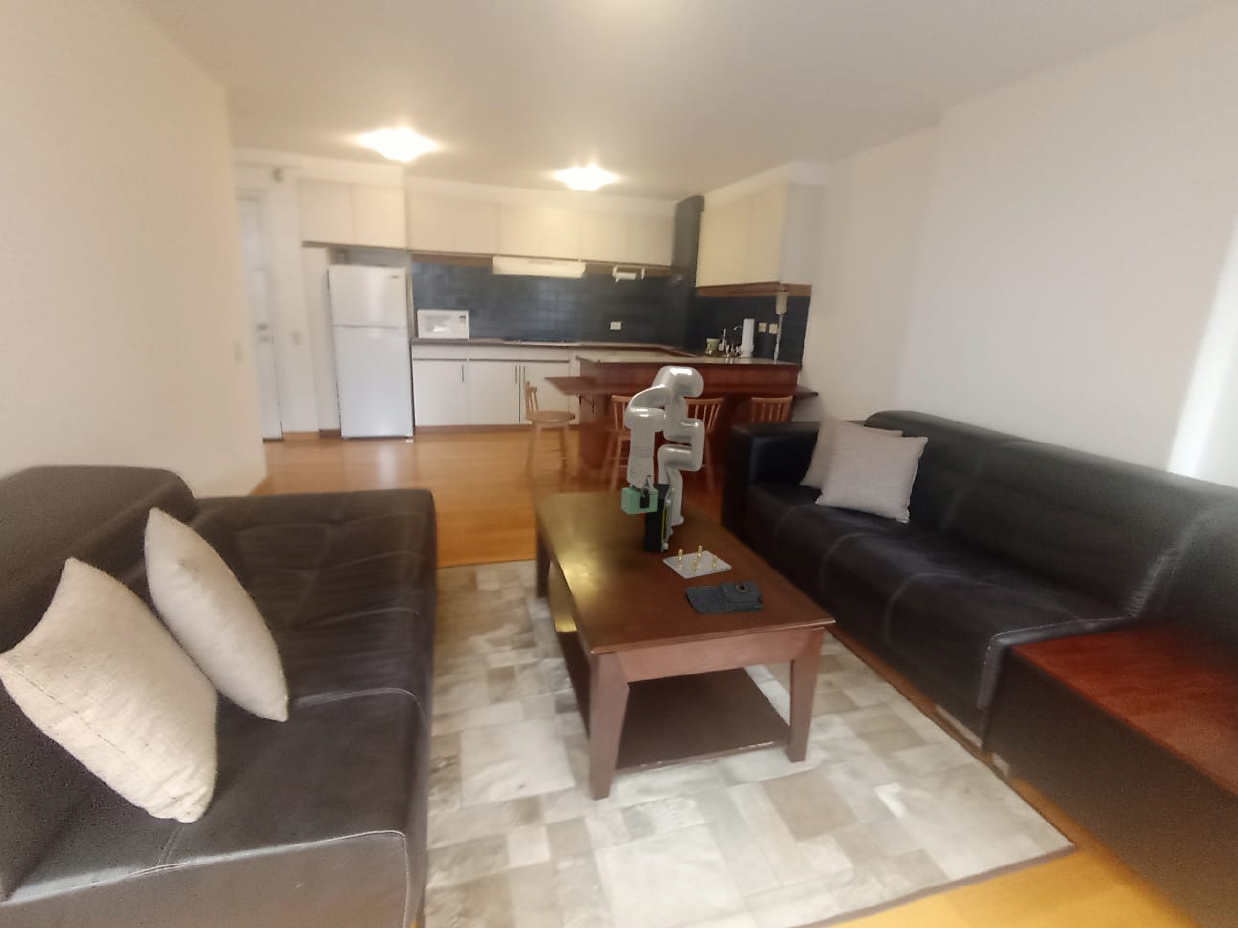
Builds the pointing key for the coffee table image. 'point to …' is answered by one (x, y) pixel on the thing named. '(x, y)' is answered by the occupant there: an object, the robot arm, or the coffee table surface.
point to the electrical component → (659, 520)
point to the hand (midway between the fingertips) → (639, 504)
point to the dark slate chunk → (725, 598)
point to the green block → (637, 500)
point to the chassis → (696, 563)
